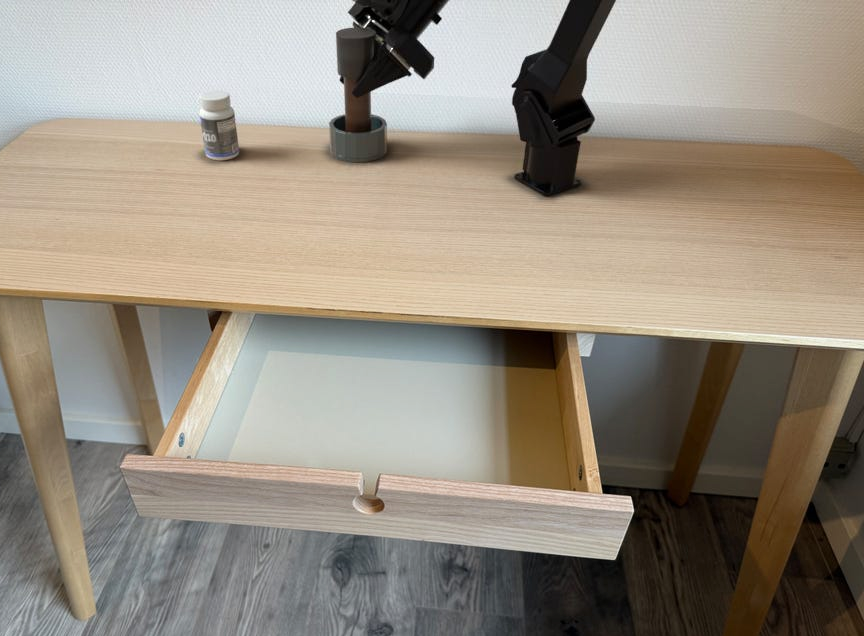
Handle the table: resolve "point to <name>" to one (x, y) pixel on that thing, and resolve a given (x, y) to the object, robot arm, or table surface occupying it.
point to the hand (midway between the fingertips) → (347, 89)
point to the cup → (358, 140)
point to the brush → (355, 74)
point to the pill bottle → (218, 125)
